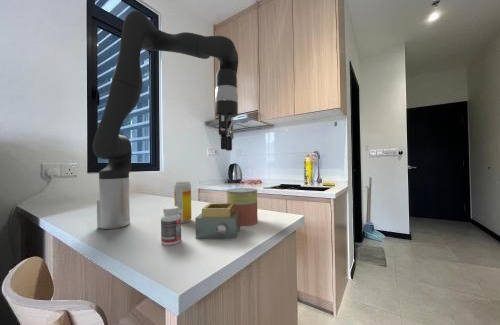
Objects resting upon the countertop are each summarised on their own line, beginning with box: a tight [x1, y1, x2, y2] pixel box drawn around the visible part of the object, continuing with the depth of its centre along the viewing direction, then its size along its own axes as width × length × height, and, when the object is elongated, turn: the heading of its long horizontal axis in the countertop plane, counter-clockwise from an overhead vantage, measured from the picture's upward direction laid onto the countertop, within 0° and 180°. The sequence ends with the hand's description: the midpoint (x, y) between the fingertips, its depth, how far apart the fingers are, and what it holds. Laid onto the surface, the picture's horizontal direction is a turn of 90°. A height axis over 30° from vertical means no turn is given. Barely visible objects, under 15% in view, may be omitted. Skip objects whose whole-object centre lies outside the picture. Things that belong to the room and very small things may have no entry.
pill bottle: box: [160, 205, 182, 246], centre depth 60 cm, size 5×5×10 cm
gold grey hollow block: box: [194, 202, 241, 240], centre depth 66 cm, size 12×12×8 cm
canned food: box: [226, 187, 259, 228], centre depth 79 cm, size 11×11×12 cm
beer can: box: [173, 180, 192, 224], centre depth 82 cm, size 6×6×15 cm
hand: (226, 149), depth 72 cm, fingers open, 8 cm apart
